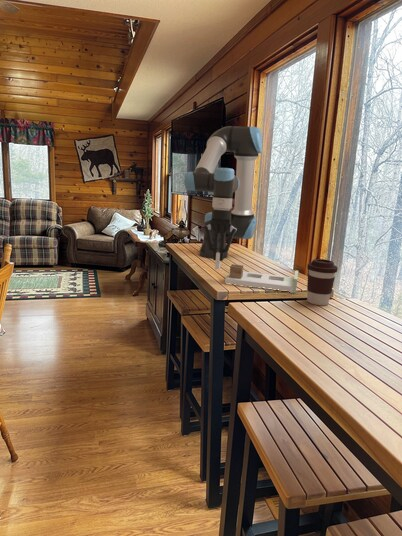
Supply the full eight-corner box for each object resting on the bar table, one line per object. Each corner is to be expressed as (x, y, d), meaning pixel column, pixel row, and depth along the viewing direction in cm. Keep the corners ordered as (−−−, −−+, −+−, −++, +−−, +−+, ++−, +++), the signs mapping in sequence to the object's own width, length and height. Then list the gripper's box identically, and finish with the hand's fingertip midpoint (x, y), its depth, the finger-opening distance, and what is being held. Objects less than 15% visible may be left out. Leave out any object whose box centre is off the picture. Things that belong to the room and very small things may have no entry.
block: (231, 275, 157) (232, 264, 155) (242, 276, 155) (243, 265, 154) (229, 277, 152) (230, 266, 151) (240, 279, 151) (241, 267, 150)
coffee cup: (300, 303, 133) (305, 261, 130) (306, 296, 142) (311, 256, 138) (329, 309, 129) (335, 265, 125) (334, 301, 137) (340, 260, 134)
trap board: (231, 275, 165) (232, 263, 164) (296, 283, 159) (298, 270, 158) (224, 284, 151) (225, 270, 150) (295, 293, 145) (297, 279, 143)
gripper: (203, 208, 147) (199, 268, 152) (236, 211, 144) (231, 272, 149) (207, 207, 154) (204, 264, 159) (240, 209, 151) (235, 268, 156)
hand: (217, 268), depth 154 cm, fingers closed
